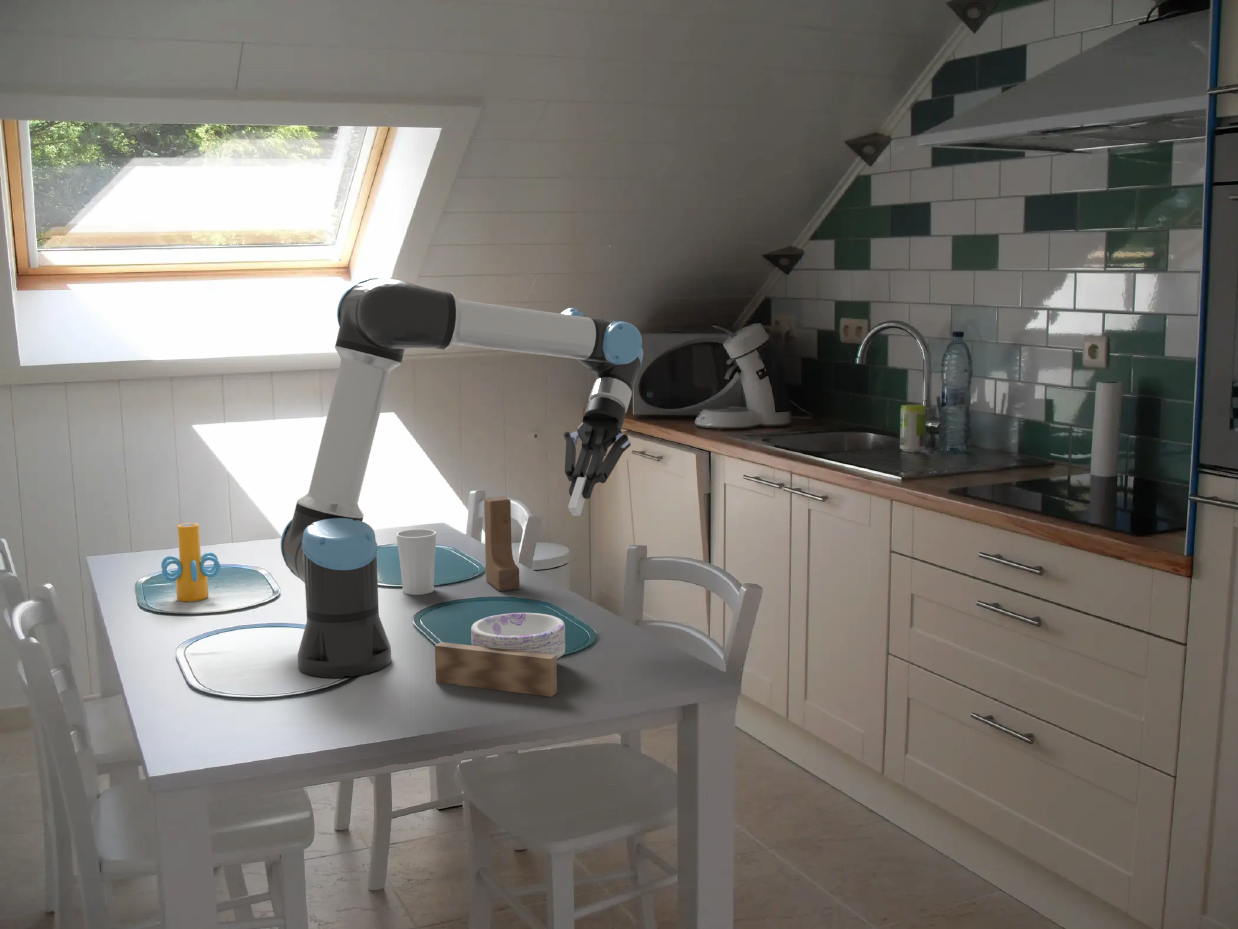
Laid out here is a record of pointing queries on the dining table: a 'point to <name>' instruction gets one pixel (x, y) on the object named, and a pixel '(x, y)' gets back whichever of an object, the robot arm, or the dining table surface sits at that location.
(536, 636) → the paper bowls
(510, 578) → the wooden block
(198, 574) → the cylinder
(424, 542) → the cup
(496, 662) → the rail
